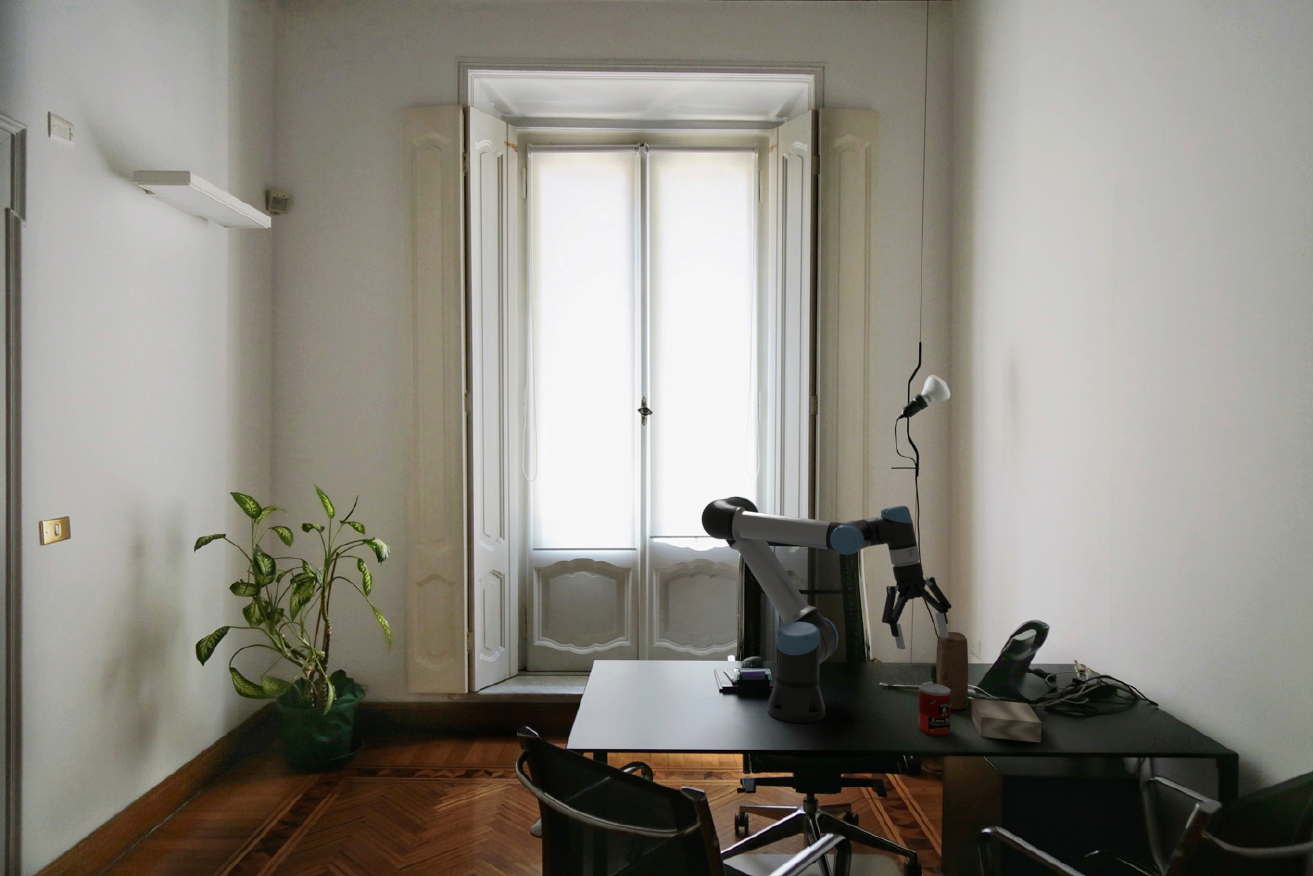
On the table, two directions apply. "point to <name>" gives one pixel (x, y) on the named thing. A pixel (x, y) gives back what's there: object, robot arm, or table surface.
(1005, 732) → the birch base block
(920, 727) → the canned food
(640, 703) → the table surface
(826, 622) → the robot arm
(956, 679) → the block
